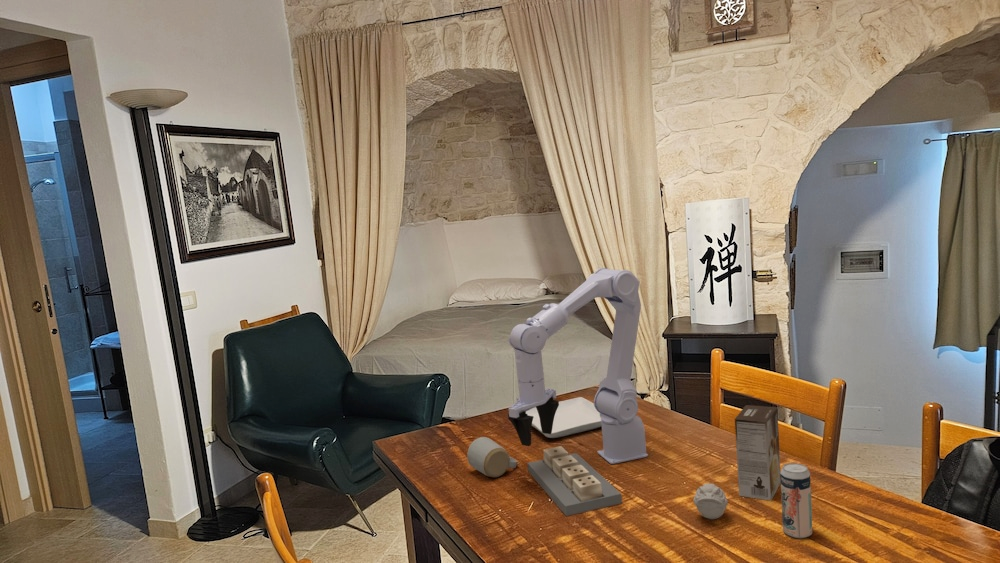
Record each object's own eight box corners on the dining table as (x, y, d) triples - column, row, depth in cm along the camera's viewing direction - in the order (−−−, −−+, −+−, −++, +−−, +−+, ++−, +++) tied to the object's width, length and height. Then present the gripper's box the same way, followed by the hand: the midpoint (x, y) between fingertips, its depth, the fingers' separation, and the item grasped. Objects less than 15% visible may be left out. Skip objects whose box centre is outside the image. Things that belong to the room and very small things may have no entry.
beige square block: (593, 489, 140) (592, 474, 139) (602, 498, 136) (601, 482, 135) (573, 494, 139) (572, 478, 138) (581, 503, 134) (580, 487, 134)
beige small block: (582, 478, 146) (581, 464, 145) (590, 486, 141) (589, 471, 141) (563, 483, 144) (561, 468, 144) (570, 491, 140) (569, 475, 140)
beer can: (777, 528, 121) (774, 464, 119) (803, 524, 121) (800, 460, 120) (791, 541, 116) (788, 475, 115) (818, 538, 116) (815, 471, 115)
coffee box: (749, 477, 142) (745, 403, 140) (781, 482, 138) (778, 406, 136) (738, 496, 134) (733, 418, 132) (772, 501, 131) (768, 421, 129)
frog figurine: (693, 526, 124) (690, 490, 124) (696, 508, 131) (694, 474, 130) (728, 528, 122) (726, 492, 121) (729, 510, 129) (727, 475, 128)
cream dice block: (571, 468, 151) (570, 454, 151) (579, 476, 147) (578, 461, 147) (553, 472, 150) (552, 458, 150) (560, 480, 146) (559, 465, 145)
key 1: (562, 459, 157) (561, 445, 157) (569, 466, 153) (568, 452, 152) (544, 463, 156) (543, 449, 155) (550, 470, 152) (549, 455, 151)
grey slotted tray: (576, 461, 159) (576, 452, 159) (622, 503, 136) (621, 493, 136) (528, 471, 156) (527, 462, 156) (566, 516, 133) (565, 506, 133)
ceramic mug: (486, 483, 152) (483, 450, 151) (467, 472, 158) (465, 440, 158) (525, 470, 157) (522, 438, 156) (505, 460, 164) (503, 429, 163)
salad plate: (547, 445, 171) (546, 432, 171) (515, 422, 191) (514, 410, 190) (620, 428, 179) (619, 415, 178) (582, 407, 198) (581, 396, 198)
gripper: (536, 368, 155) (541, 425, 157) (495, 386, 145) (501, 447, 146) (561, 371, 151) (567, 430, 153) (521, 390, 140) (527, 452, 142)
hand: (536, 438), depth 149 cm, fingers open, 7 cm apart
